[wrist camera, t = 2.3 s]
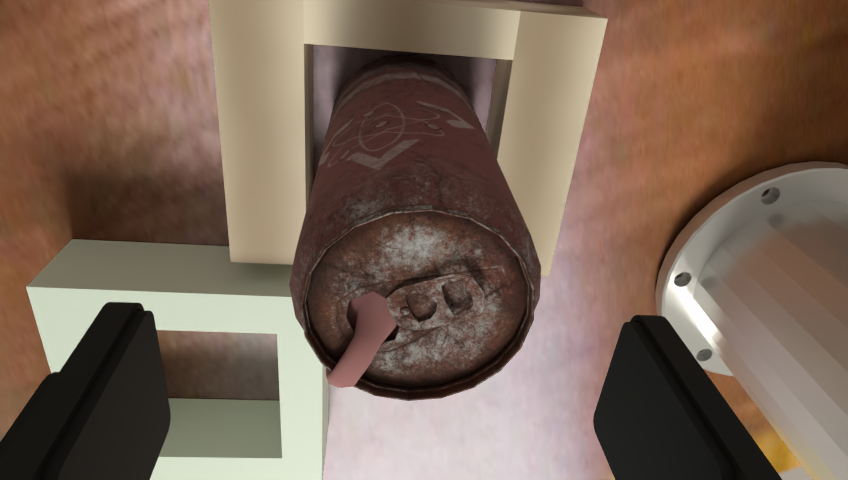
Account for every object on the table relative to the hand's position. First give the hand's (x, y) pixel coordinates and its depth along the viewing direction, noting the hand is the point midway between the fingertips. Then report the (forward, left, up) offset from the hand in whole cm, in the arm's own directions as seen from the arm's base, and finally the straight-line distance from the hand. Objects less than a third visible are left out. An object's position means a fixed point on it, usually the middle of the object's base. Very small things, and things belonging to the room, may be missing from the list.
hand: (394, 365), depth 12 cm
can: (-1, 0, -16) cm, 16 cm away
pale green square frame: (+8, +13, -16) cm, 22 cm away
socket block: (-1, 0, -16) cm, 16 cm away
